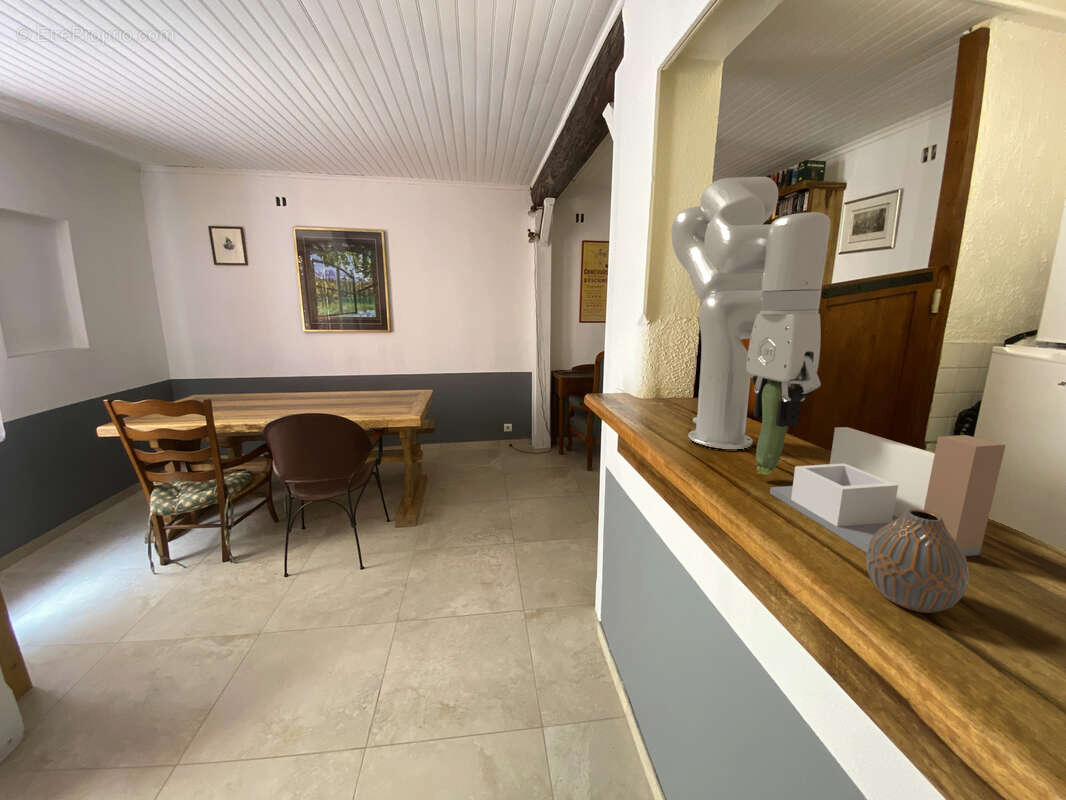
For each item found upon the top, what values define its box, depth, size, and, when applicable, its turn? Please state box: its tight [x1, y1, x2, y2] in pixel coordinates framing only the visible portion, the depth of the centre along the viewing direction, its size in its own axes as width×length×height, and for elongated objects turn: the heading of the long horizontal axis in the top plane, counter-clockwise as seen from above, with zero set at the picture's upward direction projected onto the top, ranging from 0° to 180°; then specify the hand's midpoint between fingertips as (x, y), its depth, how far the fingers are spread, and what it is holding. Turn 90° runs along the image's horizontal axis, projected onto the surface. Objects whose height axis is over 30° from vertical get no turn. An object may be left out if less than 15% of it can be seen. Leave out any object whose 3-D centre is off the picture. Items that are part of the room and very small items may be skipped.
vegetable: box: [755, 380, 794, 476], centre depth 63 cm, size 4×4×20 cm
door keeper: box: [769, 426, 1007, 557], centre depth 52 cm, size 18×12×13 cm, turn 7°
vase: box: [865, 509, 970, 614], centre depth 37 cm, size 7×7×9 cm
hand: (774, 420), depth 64 cm, fingers closed on vegetable, 4 cm apart
